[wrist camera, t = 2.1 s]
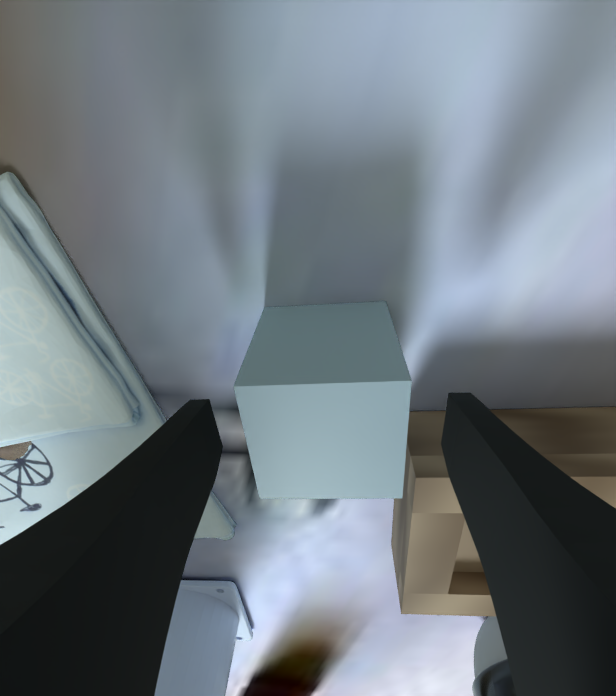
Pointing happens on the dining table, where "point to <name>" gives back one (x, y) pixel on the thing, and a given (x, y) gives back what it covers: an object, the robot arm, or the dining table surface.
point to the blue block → (326, 402)
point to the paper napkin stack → (62, 378)
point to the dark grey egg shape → (491, 662)
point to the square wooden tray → (446, 515)
